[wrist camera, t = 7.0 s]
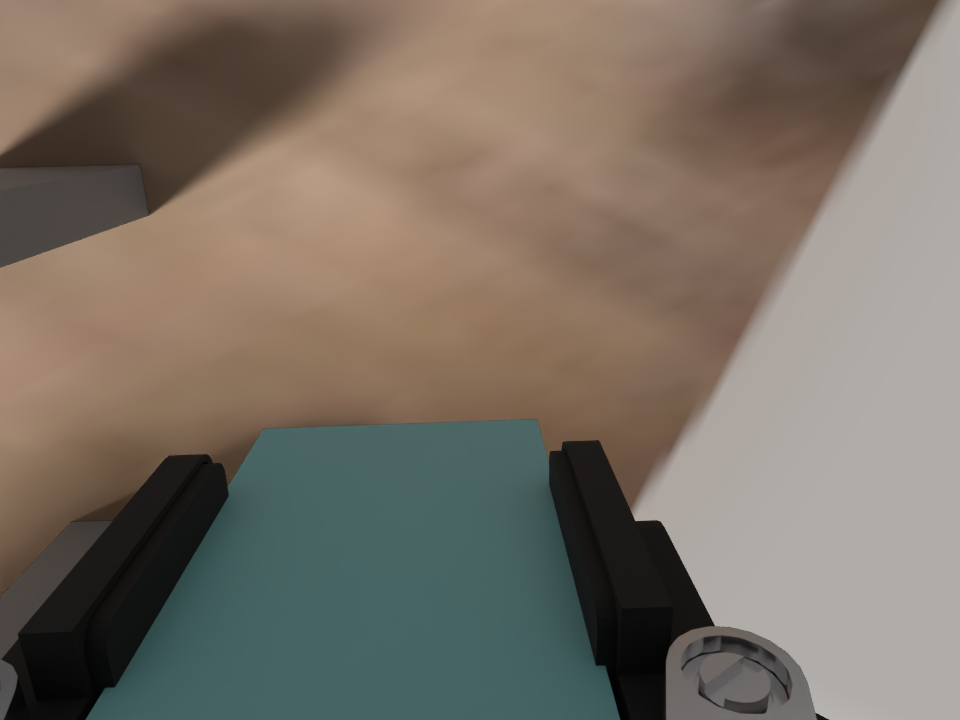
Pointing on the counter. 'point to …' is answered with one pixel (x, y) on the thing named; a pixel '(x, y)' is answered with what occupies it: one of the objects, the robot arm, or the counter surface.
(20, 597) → the domino
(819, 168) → the counter surface
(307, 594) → the domino
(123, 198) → the domino
